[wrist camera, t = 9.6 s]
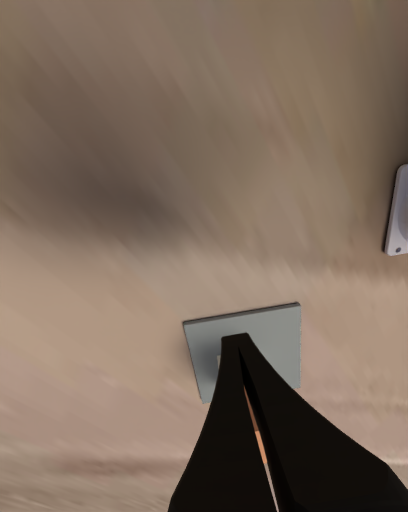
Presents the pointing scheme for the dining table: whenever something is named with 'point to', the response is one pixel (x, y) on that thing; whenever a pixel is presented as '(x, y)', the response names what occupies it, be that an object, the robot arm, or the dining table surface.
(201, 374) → the grey square plate
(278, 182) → the dining table surface
